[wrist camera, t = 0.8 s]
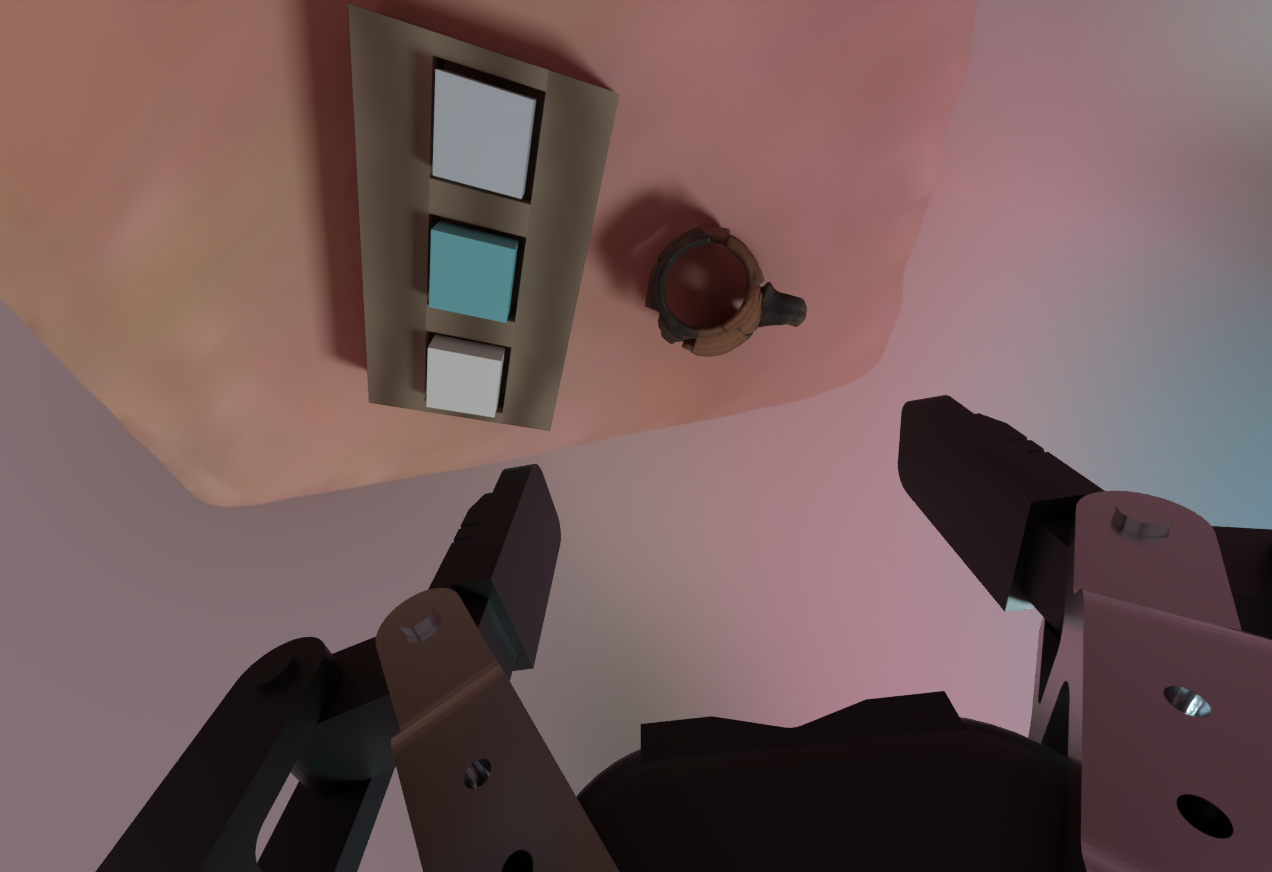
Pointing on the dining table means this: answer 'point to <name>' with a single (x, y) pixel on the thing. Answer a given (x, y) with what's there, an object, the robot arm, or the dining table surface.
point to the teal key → (471, 271)
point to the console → (469, 214)
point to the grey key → (481, 134)
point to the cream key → (464, 376)
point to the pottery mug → (754, 312)
